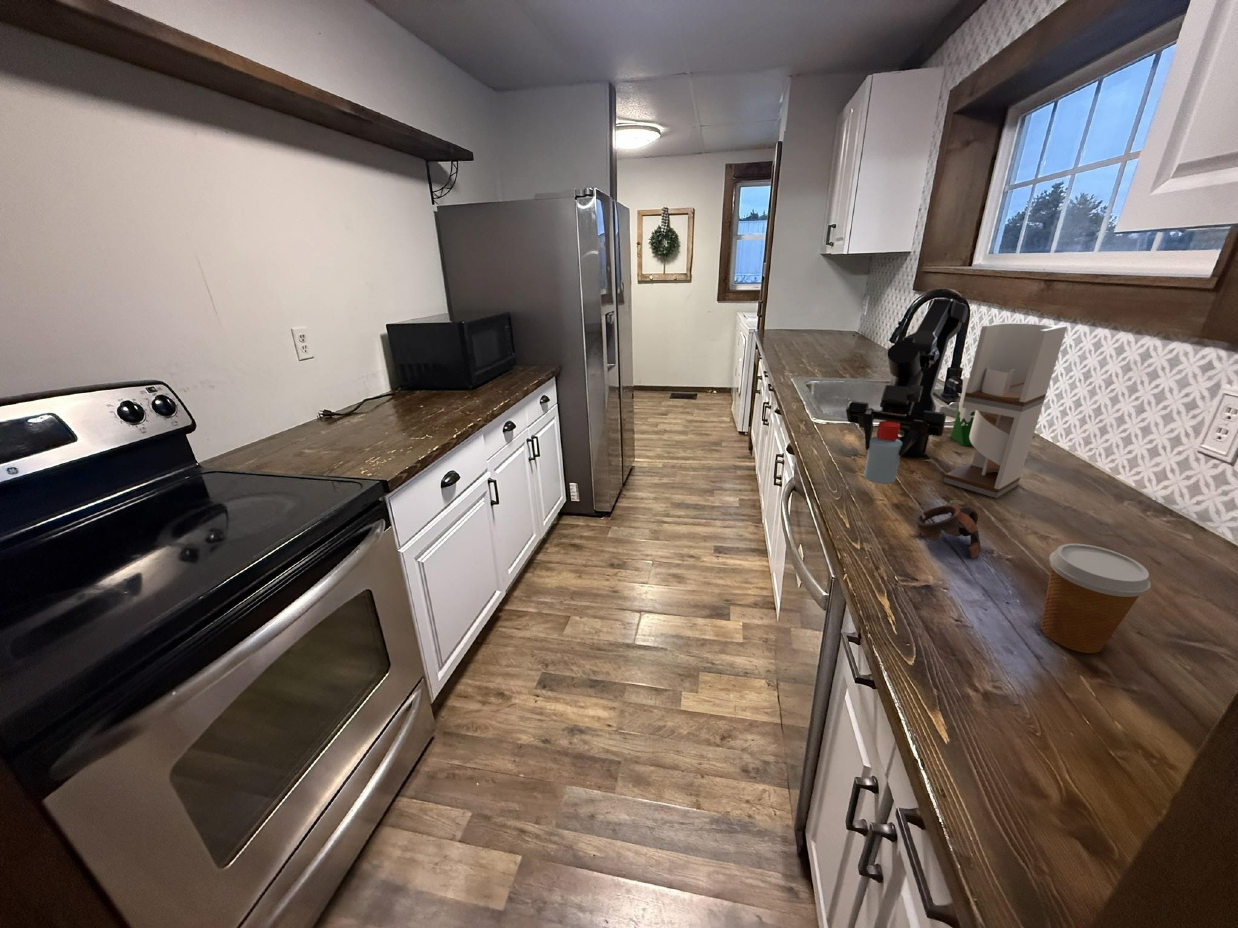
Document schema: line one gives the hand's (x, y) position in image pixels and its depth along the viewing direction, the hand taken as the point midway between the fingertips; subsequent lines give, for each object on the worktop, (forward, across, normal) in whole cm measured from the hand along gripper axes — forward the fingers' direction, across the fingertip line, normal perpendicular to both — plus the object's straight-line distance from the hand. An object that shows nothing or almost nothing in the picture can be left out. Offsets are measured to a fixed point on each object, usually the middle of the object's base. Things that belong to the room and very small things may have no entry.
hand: (883, 452), depth 105 cm
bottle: (+4, 0, +6) cm, 7 cm away
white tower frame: (-6, +18, +21) cm, 29 cm away
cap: (-3, 0, -1) cm, 3 cm away
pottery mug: (+17, +15, -3) cm, 23 cm away
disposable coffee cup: (+30, +31, -17) cm, 46 cm away
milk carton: (-29, +14, +45) cm, 55 cm away
